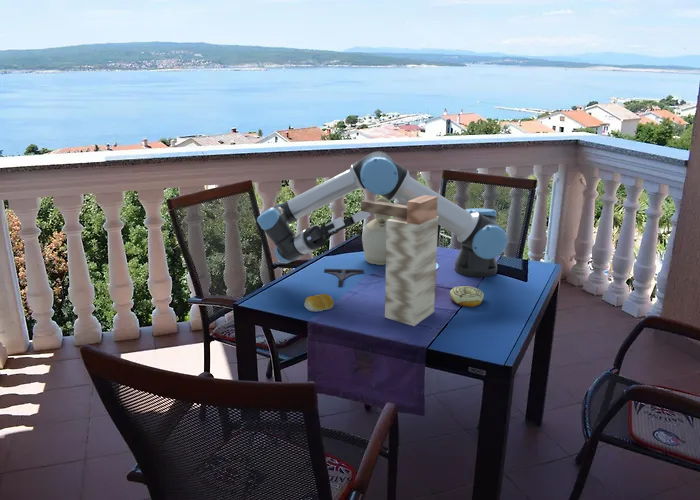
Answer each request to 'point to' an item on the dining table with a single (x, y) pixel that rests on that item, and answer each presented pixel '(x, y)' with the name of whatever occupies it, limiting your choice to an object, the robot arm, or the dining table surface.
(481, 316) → the dining table surface
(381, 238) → the jug
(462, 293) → the decorated donut
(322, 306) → the bread roll
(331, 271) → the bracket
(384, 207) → the wooden mallet
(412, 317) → the stand
